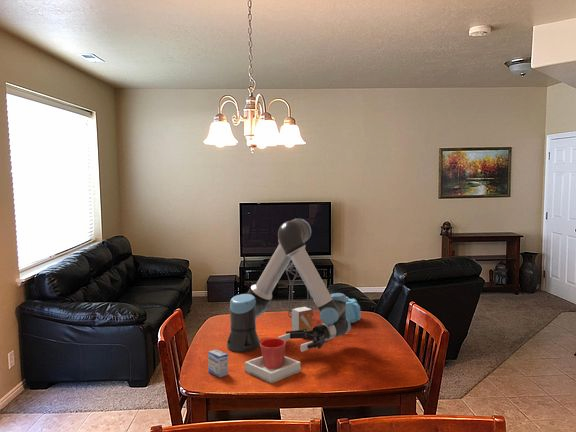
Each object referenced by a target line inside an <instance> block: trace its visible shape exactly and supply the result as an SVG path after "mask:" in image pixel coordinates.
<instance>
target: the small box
mask: <svg viewBox="0 0 576 432" xmlns="http://www.w3.org/2000/svg"><path fill="white" fill-rule="evenodd" d="M291 311H292V312H291V314H292V315H291V316H292V317H291V331H295V330H303V329H307V331H310V330H312V329H313V328H312V327H313V316H312V309H311V307H309V308H308V306H301V307H296V308H293V309H292V308H291ZM305 337H306V335H305Z"/></svg>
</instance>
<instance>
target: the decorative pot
mask: <svg viewBox="0 0 576 432" xmlns="http://www.w3.org/2000/svg"><path fill="white" fill-rule="evenodd" d="M361 313H362V312H361V306H360V304H359V303H358V301H357V299H356V298H349V297H348V296H346V318H347V319H348V320H349V321H350V324H353V323H357V322H358V321H360V320H361V316H362V315H361Z"/></svg>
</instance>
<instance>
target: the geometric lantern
mask: <svg viewBox="0 0 576 432" xmlns="http://www.w3.org/2000/svg"><path fill="white" fill-rule="evenodd" d="M294 268H295V269H294ZM293 272H295V273H293ZM285 273H286V275H287V279H288V281H289V287H288V289H289V292H288V293H289V294H288V311H287V312H288V315H287V316H288V318H290V319H292V309H294V300H293V299H294V286H299V285H300V286H301V285H302V286H303V285H305V283H294V282H302V281H303V280H302V279H297V280H296V278H299V277H300V278H301V276H300V275H299V273H298V271H297V269H296V267H295V265H294V264H293V262H292V261H290V262H289V264H288V266H287V267H286V269H285ZM289 273H290V274H292V275H293V276H294V277H293V279H292V280H291V279H290V276H289ZM305 286H306V285H305ZM306 293H307V294H306V295H307V308H310V309H312V317H313V316H314V311H313V298H312V296H311V294H310V293H309V291H308V289H307V288H306ZM290 307H291V310H290Z"/></svg>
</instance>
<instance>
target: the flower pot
mask: <svg viewBox="0 0 576 432" xmlns="http://www.w3.org/2000/svg"><path fill="white" fill-rule="evenodd" d="M286 346H287V341H285V340H283V339H278V337H277V338H267V339H264V340H261V342H260V347H259V348H260V351H261V356H262V357H263V361H264V366H265V367H266V368H269V369H277V368H279V367H282V366H283V362H284V356H285V355H286V354H285V353H286Z"/></svg>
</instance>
